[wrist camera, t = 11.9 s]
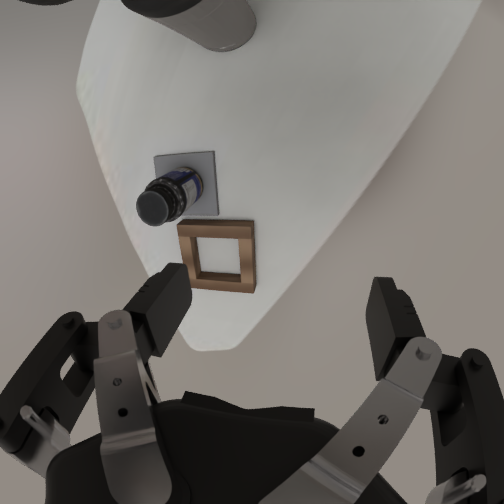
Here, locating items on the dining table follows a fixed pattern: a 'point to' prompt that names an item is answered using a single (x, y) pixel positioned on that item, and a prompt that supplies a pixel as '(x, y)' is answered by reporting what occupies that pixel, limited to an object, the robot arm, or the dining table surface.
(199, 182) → the pill bottle
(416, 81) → the dining table surface
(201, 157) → the grey pad
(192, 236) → the walnut holder
